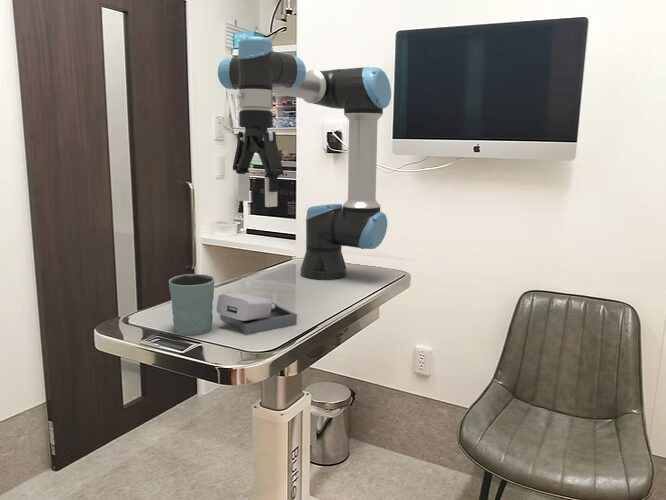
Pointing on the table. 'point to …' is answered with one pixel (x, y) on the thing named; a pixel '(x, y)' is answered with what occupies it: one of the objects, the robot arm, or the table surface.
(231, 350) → the table surface
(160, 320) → the table surface
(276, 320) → the gray square tray
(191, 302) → the green cup
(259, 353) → the table surface
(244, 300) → the charger
